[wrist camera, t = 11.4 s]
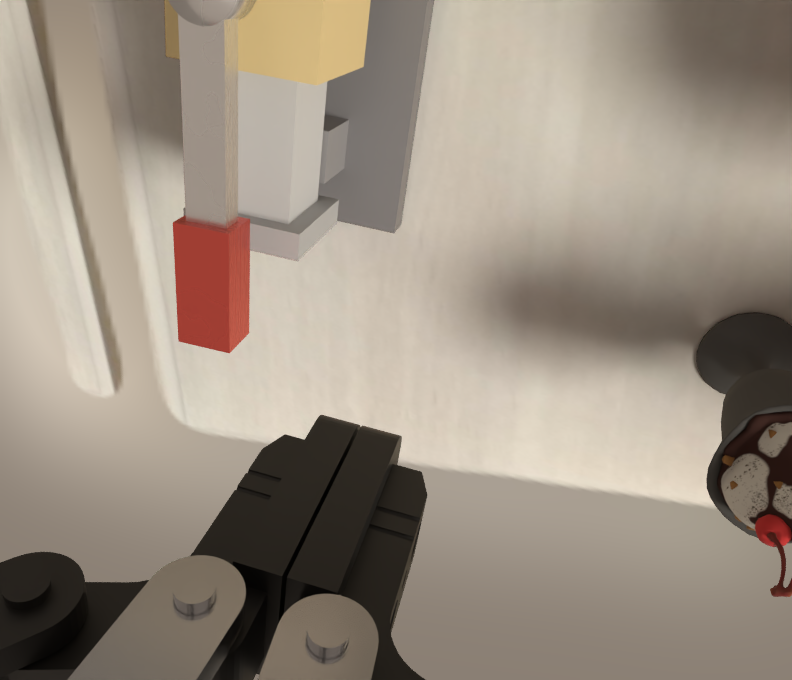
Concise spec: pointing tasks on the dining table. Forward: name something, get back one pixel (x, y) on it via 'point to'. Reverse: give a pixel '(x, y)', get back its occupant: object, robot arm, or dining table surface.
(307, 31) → the valve stand
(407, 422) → the dining table surface
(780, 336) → the sundae
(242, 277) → the valve lever
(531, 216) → the dining table surface
